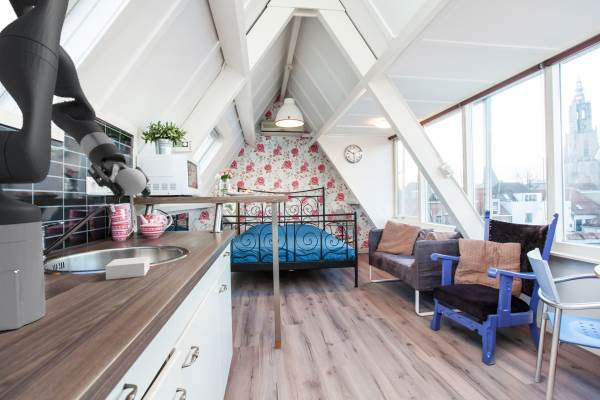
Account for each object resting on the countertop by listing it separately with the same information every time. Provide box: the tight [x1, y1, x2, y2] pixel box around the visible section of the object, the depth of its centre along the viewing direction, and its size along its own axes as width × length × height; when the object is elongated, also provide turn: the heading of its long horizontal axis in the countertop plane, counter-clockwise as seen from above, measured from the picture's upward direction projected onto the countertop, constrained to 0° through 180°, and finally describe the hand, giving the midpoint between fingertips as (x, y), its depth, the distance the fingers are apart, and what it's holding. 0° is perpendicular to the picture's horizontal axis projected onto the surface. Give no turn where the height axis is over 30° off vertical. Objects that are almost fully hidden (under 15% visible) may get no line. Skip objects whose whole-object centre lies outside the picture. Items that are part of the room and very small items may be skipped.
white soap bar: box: [105, 256, 150, 281], centre depth 84 cm, size 9×9×4 cm
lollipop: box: [115, 167, 147, 227], centre depth 79 cm, size 7×7×15 cm
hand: (135, 195), depth 79 cm, fingers closed on lollipop, 7 cm apart
